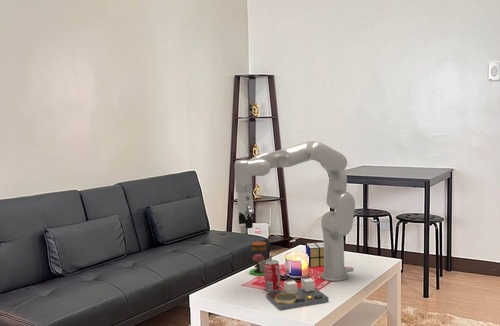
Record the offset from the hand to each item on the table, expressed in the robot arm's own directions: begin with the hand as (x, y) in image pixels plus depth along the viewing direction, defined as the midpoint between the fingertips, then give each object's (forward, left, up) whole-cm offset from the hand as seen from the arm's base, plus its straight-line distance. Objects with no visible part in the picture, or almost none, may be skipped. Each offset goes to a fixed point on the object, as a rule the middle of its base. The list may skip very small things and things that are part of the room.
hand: (245, 225), depth 245 cm
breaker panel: (-15, +20, -30) cm, 39 cm away
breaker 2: (-22, +15, -28) cm, 39 cm away
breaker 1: (-14, +16, -28) cm, 35 cm away
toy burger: (-13, -22, -30) cm, 40 cm away
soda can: (-10, +4, -30) cm, 32 cm away
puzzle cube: (-45, -24, -30) cm, 59 cm away
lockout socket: (-9, +22, -28) cm, 37 cm away
